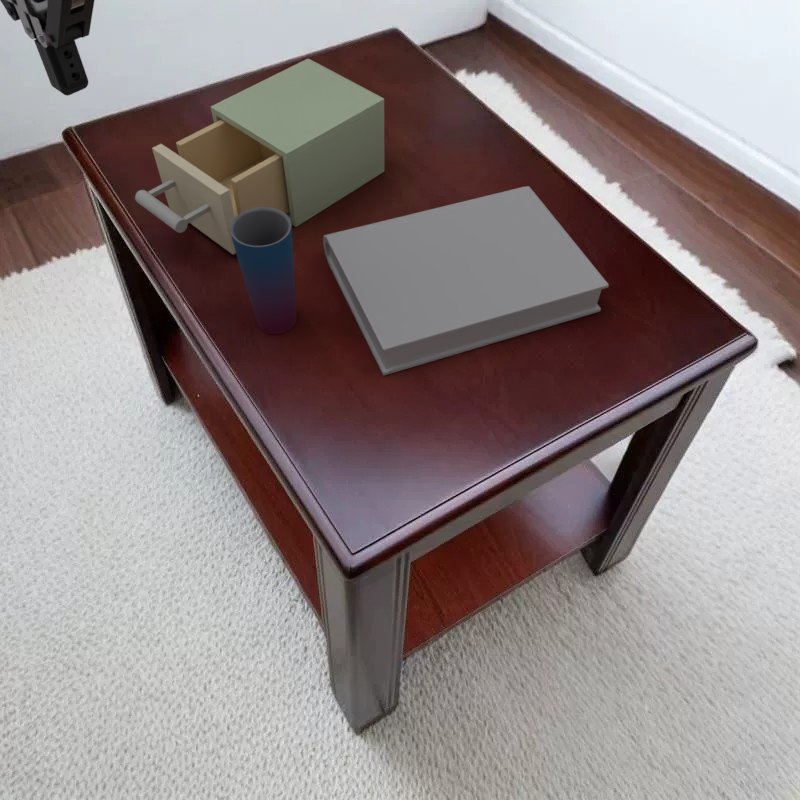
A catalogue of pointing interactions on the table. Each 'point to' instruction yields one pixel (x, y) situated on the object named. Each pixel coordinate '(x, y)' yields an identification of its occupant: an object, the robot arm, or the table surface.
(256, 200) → the drawer
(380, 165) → the cabinet
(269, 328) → the cup
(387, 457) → the table surface
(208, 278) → the table surface
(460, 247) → the book
